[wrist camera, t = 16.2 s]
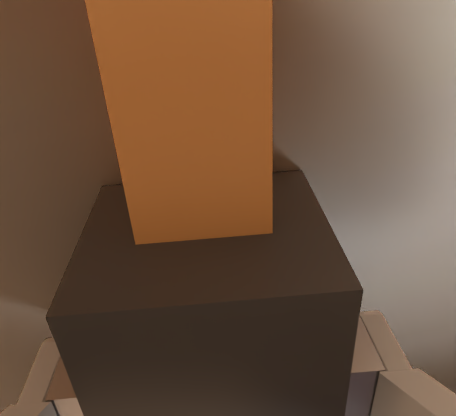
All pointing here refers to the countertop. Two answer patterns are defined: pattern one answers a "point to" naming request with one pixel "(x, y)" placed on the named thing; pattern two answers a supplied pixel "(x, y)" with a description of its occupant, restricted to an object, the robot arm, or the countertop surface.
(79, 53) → the countertop surface
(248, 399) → the wooden and grey bar
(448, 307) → the countertop surface
